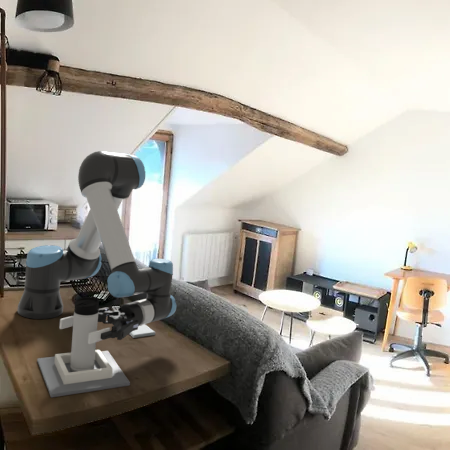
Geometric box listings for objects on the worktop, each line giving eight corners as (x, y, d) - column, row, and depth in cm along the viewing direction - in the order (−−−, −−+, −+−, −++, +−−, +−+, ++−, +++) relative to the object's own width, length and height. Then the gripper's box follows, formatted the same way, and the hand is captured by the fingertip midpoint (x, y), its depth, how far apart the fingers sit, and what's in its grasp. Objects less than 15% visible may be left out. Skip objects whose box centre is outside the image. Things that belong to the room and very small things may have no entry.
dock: (37, 361, 126) (38, 349, 126) (107, 353, 137) (108, 342, 137) (50, 397, 110) (51, 384, 109) (129, 385, 120) (131, 373, 120)
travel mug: (99, 368, 125) (105, 299, 122) (82, 377, 119) (88, 305, 116) (82, 362, 128) (87, 294, 125) (64, 370, 122) (69, 299, 119)
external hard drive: (133, 339, 151) (117, 325, 160) (155, 336, 156) (138, 323, 165) (133, 334, 151) (118, 321, 160) (155, 331, 156) (139, 318, 165)
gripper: (162, 338, 130) (103, 360, 112) (107, 314, 143) (46, 330, 125) (165, 314, 129) (106, 332, 111) (110, 291, 142) (48, 304, 124)
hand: (74, 331), depth 118 cm, fingers open, 11 cm apart
